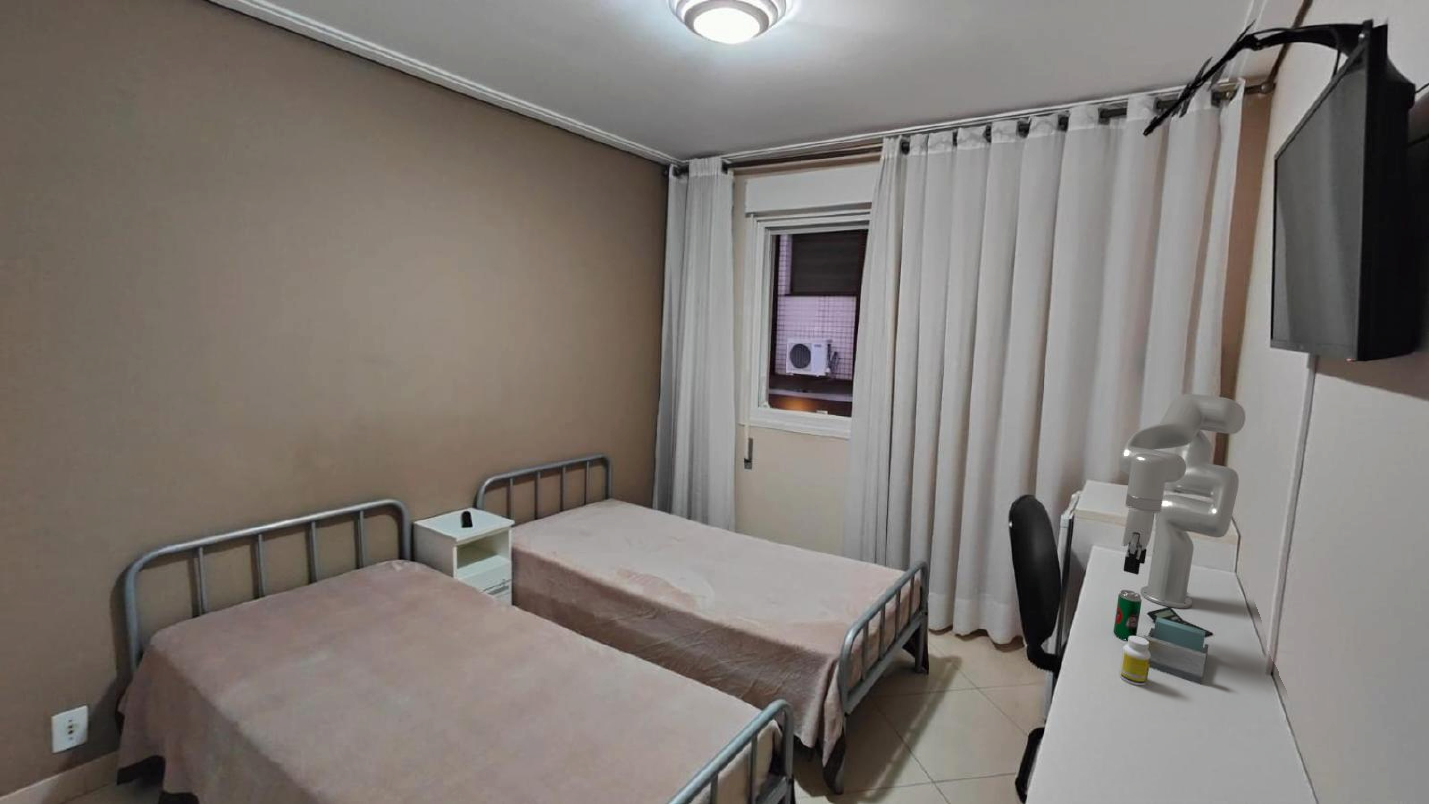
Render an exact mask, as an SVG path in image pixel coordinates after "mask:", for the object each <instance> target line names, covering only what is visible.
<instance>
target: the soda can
mask: <svg viewBox="0 0 1429 804" xmlns="http://www.w3.org/2000/svg"><path fill="white" fill-rule="evenodd" d="M1141 596H1142V595H1141V594H1140V593H1138V592H1136V591H1133V590H1128V589H1122V590H1121V591H1120V593H1119V594H1118V598H1117V603H1116V611H1115V618H1114V626H1113V634H1114V635H1115V636H1116V638H1118V637H1119V639H1120V638H1122V639H1121V640H1123V639H1126V640H1125V641H1127V640H1128V638H1129V636H1138V635H1137V634H1138V629H1139V628H1138V627H1139V621H1140V614H1141V609H1142V608H1141V607H1142V601H1143V600H1142V598H1141Z"/></svg>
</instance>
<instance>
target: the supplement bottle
mask: <svg viewBox="0 0 1429 804" xmlns="http://www.w3.org/2000/svg"><path fill="white" fill-rule="evenodd" d="M1148 648H1149V642H1148V641H1147V640H1146V639H1144V638H1143V637H1142V636H1139V635H1137V636H1129V638H1128V641H1127V643H1126V644H1124V646H1123V647H1122V651H1121V652H1122V654H1121V659H1120V665H1119V666H1120V667H1119V671H1118V672H1119V673H1118V674H1119V677H1120V678H1121V679H1122V680H1123V681H1124V682H1127V683H1128V684H1131V685H1133V686H1145V685H1146V684H1147V683H1148V676H1149V670H1150V667H1149V665H1150V659H1151V654H1150V652H1149V651H1148V650H1147V649H1148Z"/></svg>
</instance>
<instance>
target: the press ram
mask: <svg viewBox="0 0 1429 804" xmlns="http://www.w3.org/2000/svg"><path fill="white" fill-rule="evenodd" d="M1205 632H1206V631H1204V630H1200V629H1197V628H1193V627H1190V626H1187V625H1183V624H1180V623H1176V622H1173V621H1169V620H1166V619H1162V618H1159V617H1157V619H1156V621H1155V622H1154V634H1153V638H1156V639H1159V640H1162V641H1166V642H1169V643H1172V644H1175V645H1179V646H1182V647H1185V648H1188V649H1192V650H1195V651H1198V652H1201V653H1202V650H1203V647H1204V645H1205V644H1204V643H1205V638H1206V637H1205Z"/></svg>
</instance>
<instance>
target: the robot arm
mask: <svg viewBox="0 0 1429 804" xmlns="http://www.w3.org/2000/svg"><path fill="white" fill-rule="evenodd" d="M1245 423H1246V411H1245V409H1244V407H1243V406H1242V405H1241V404H1240V403H1239V402H1237V401H1235V400H1233V399H1232V398H1228V397H1222V396H1214V395H1213V396H1212V395H1206V394H1205V395H1204V394H1195V393H1194V394H1193V393H1185V394H1183V393H1182V394H1181V395H1178V396H1176V397H1175V398H1174V399H1172V401H1171V404H1169V407H1168V408H1167V410H1166V412H1165V414H1164V415H1163V417H1162V419H1161V421H1160V422H1159V423H1157V424H1153V425H1151V426H1148V427H1145V428H1144V429H1143V428H1142V429H1140V430H1138V431H1137V432H1134V433H1133V434H1132V435H1130V437H1129V438H1128V440H1127V442H1126V443H1125V444H1124V446H1123V447H1122V450H1121V451H1120V454H1119V458H1118V466H1119V469H1120V470H1121V471H1122V472H1123V473H1124V474H1126V475H1127V474H1128V475H1129V477H1128V478H1129V479H1128V485H1127V491H1126V497H1125V498H1126V499H1125V507H1126V508H1128V512H1127V516H1126V522H1125V527H1124V532H1123V538H1122V546H1123V547H1127V550H1126V554H1125V557H1124V564H1123V568H1122V569H1123V571H1124V572H1126V573H1130V574H1133V575H1139V573H1140V569H1141V568H1140V567H1141V564H1142V565H1144V564H1145V563H1146V557H1147V551H1148V550H1147V547H1148V546H1149V543H1150V540H1151V536H1152V531H1153V526H1154V522H1155V533H1154V539H1153V547H1152V554H1151V561H1150V566H1149V567H1150V568H1149V574H1148V575H1149V576H1148V581H1147V585H1146V586H1142V587H1141V588H1140V595H1141V596H1142V597H1143V598H1145V599H1147V600H1148V601H1149V602H1152V603H1156V604H1158V605H1161V606H1166V607H1171V608H1174V609H1175V608H1177V609H1186V608H1190V607H1191V606H1192V605H1193V601H1192V599H1191V598H1190V596H1187V594H1188V593H1187V592H1188V586H1189V581H1190V575H1191V568H1192V562H1193V555H1194V548H1195V547H1194V543H1193V540H1192V538H1191V536H1190V535H1189V533H1188V532H1190V533H1194V534H1199V535H1203V536H1206V537H1211V538H1217V539H1218V538H1222V537H1223V538H1224V537H1225V535H1227V533H1228V532H1229V529H1230V526H1231V522H1232V516H1233V513H1234V509H1235V505H1236V504H1235V503H1236V499H1237V495H1238V489H1239V483H1240V482H1239V480H1240V479H1239V476H1238V475H1239V474H1238V473H1237V471H1236V470H1235V469H1233V468H1231V467H1229V466H1223V465H1218V464H1214V463H1213V464H1212V463H1210V462H1211V458H1212V453H1213V445H1212V443H1211V441H1210V439H1209V438H1208V437H1207V435H1206V434H1205V433H1204V431H1205V432H1207V431H1208V432H1214V433H1219V434H1220V433H1222V434H1229V435H1235V434H1237V433H1239V432H1240V431H1241V430H1242V429H1243V427H1244V425H1245ZM1173 448H1175V452H1174V453H1173V452H1169V451H1161V450H1163V449H1164V450H1165V449H1173ZM1166 483H1168V484H1169V486H1170V487H1171V488H1172V489H1174V490H1176V491H1178V492H1183V493H1186V494H1191V495H1195V496H1202V497H1206V498H1210V499H1212V500H1213V502H1211V501H1206V500H1201V499H1196V498H1192V497H1188V496H1183V495H1177V494H1165V495H1164V492H1165V485H1166ZM1154 520H1155V521H1154Z"/></svg>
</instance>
